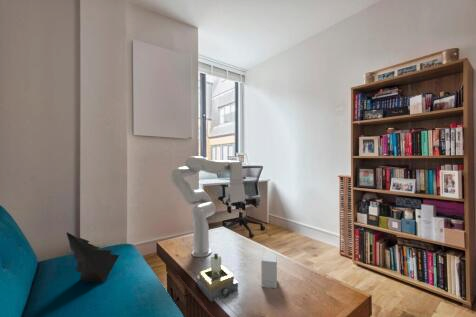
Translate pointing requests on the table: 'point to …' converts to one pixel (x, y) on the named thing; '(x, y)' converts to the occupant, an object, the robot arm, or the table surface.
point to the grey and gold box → (216, 284)
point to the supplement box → (269, 271)
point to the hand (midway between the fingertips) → (236, 211)
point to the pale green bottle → (216, 267)
